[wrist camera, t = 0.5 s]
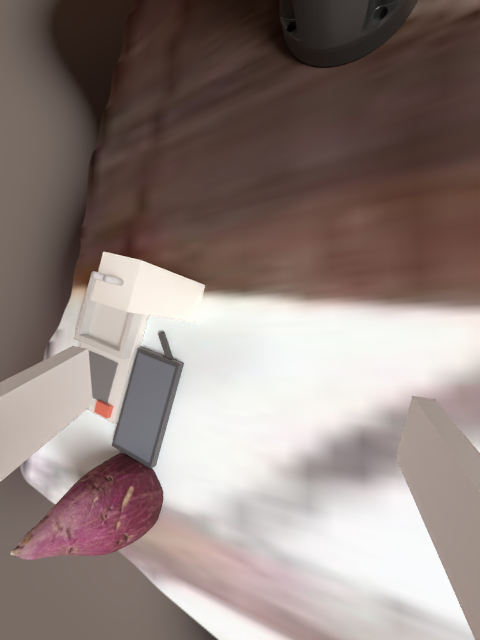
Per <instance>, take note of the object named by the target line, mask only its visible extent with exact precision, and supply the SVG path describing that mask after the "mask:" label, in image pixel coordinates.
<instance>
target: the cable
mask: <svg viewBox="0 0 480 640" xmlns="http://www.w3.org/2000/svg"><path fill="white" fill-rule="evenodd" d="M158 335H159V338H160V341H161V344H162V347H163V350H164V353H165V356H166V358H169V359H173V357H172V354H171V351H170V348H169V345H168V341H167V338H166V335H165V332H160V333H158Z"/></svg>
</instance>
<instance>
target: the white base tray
mask: <svg viewBox="0 0 480 640" xmlns="http://www.w3.org/2000/svg"><path fill="white" fill-rule="evenodd" d="M95 282H96V279H92V278H91V277H90V280H89V284H88V288H87V292H86V295H85V299H84V303H83V307H82V310H81V314H80V318H79V322H78V325H77V329H76V333H75V337H74V339H75V340H78V341H80V342H81V345H80V347H81V348H88V349H89V361H90V373H91V386H92V398H93V405H91V406H90V407H89V408H88V410H90V411H92V412H93V413H95V414H97V415H99V416H101V417H103V418H104V419H106V420H108V421H110V422H112V423H113V424H114V423H118V421H119V417H120V413H121V410H122V406H123V402H124V399H125V395H126V391H127V387H128V384H129V380H130V376H131V373H132V369H133V365H134V362H135V358H136V354H137V350H138V348H140V347H141V343H142V340H143V336H144V332H145V329H146V325H147V321H148V318H149V315H143V314H137V313H130V312H125V311H122V310H119V309H116V308H113V307H110V306H107V305H104V304H101V303H98V302H95V301H92V300H91V297H92V293H93V289H94V285H95Z"/></svg>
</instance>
